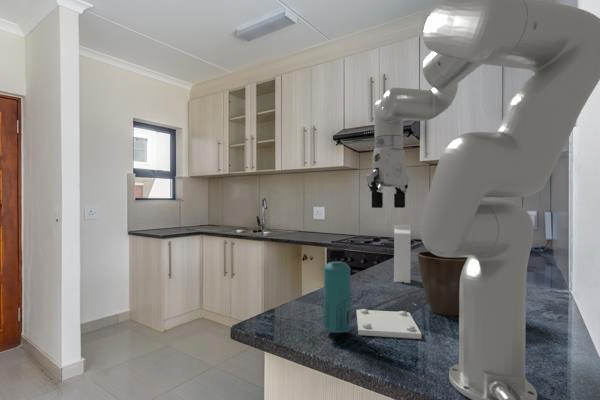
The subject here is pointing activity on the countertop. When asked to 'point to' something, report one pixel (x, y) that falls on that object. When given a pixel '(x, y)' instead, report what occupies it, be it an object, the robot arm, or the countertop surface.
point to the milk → (402, 253)
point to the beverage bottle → (337, 293)
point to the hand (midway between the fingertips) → (388, 207)
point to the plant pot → (441, 281)
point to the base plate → (387, 324)
